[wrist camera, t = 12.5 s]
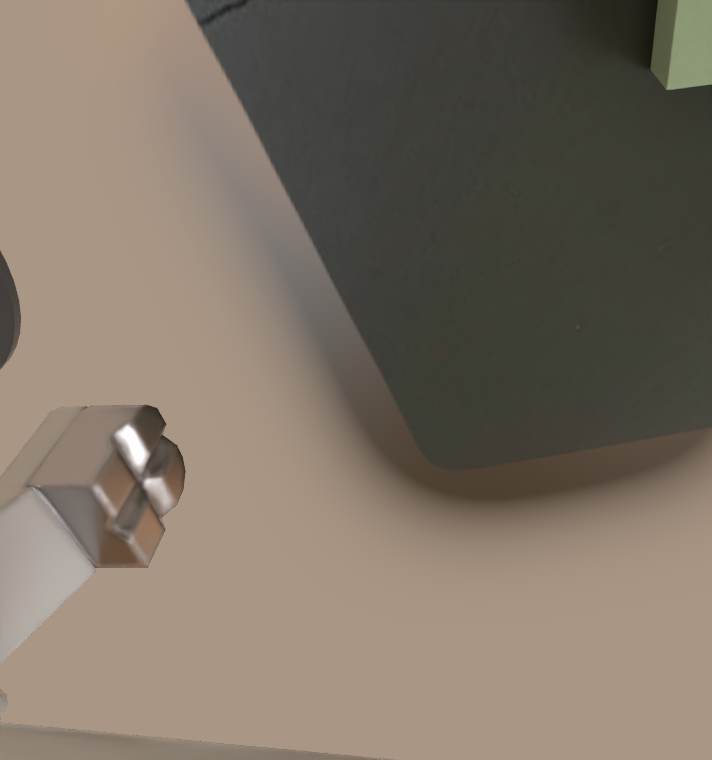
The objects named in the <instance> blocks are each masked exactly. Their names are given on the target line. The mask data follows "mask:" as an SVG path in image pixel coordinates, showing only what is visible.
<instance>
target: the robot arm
mask: <svg viewBox="0 0 712 760" xmlns="http://www.w3.org/2000/svg"><path fill="white" fill-rule="evenodd" d="M165 426H166V423H165V421H164V419H163V418H162V416H161V414H160V412H159V411H158V409H157V408H155V407H152V406H149V405H113V406H89V407H61V408H58V409H56V410H54V411H52V412H50V413H49V415H48V416H47V417H46V419H45V420H44V421H43V422H42V424H41V425H40V426H39V428H38V429H37V430H36V431H35V433H34V434H33V435H32V437H31V438H30V439H29V440H28V442H27V443H26V444H25V446H24V447H23V448H22V449H21V451H20V452H19V453H18V455H17V456H16V457H15V459H14V460H13V461H12V462H11V464H10V465H9V466H8V467H7V469H6V470H5V471H4V473H3V474H2V475H1V477H0V664H1V663H2V661H4V660H5V659H6V658H7V657H8V656H9V655H10V654H11V653H12V652H13V651H14V650H15V649H16V648H17V647H18V646H19V645H20V644H21V643H22V642H23V641H24V640H25V639H26V638H27V637H28V636H29V635H30V634H32V633H33V631H34V630H36V629H37V628H38V627H39V626H40V625H41V624H42V623H43V622H44V621H45V620H46V619H47V618H48V617H49V616H50V615H51V614H52V613H53V612H54V611H55V610H56V609H57V608H58V607H59V606H61V605H62V604H63V603H64V602H65V601H66V600H67V599H68V598H69V597H70V596H71V595H72V594H73V593H74V592H75V591H76V590H77V589H78V588H79V587H80V586H81V585H82V584H83V583H84V582H85V581H86V580H87V579H88V578H90V577H91V576H92V574H94V573H95V572H96V569H95V568H148V566H149V564H150V562H151V560H152V557H153V555H154V553H155V551H156V549H157V547H158V545H159V542H160V540H161V538H162V536H163V534H164V532H165V527H164V523H163V520H162V517H163V516H164V515H165V514H166V513H168V512H169V511H170V510H171V509H173V508H174V507H175V506H176V505H177V503H178V501H179V499H180V496H181V494H182V492H183V488H184V479H185V466H184V461H183V457H182V455H181V453H180V451H179V449H178V447H177V445H175V444H174V443H173V442H172V441H170V440H169V439H167V438H166V437H165V436H163V432H164V429H165ZM7 705H8V701H7V696H6V694H5V693H4V692H3V691H2V690H0V718H1V716H2V715H3V713H4V711H5V709H6V707H7ZM0 760H390V759H381V758H371V757H370V758H369V757H359V756H348V755H339V754H328V753H317V752H307V751H296V750H286V749H276V748H265V747H255V746H244V745H234V744H223V743H212V742H202V741H191V740H181V739H170V738H159V737H149V736H138V735H128V734H116V733H107V732H96V731H86V730H74V729H65V728H53V727H43V726H33V725H22V724H12V723H1V722H0ZM391 760H392V759H391Z"/></svg>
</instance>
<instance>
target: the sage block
mask: <svg viewBox="0 0 712 760" xmlns="http://www.w3.org/2000/svg"><path fill="white" fill-rule="evenodd" d="M651 71H652V72H653V73H654V75H655V76H656V77H657V79H658V80H659V81H660V82H661V84H662V85H663V86H664V88H665V89H666V90H672V89H680V88H687V87H695V86H702V85H710V84H712V0H658V5H657V14H656V23H655V32H654V42H653V51H652V60H651Z"/></svg>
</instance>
